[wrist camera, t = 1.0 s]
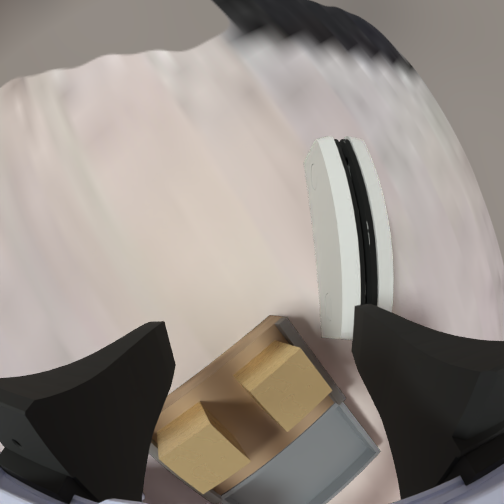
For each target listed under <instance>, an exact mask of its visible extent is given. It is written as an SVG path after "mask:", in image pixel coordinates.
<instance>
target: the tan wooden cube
mask: <svg viewBox="0 0 504 504" xmlns="http://www.w3.org/2000/svg"><path fill="white" fill-rule="evenodd" d="M233 377H234V378H235V379H236V380H237V381H238V383H239V384H240V385H241V386H242V387H243V388H244V389H245V391H246V392H247V393H248V394H249V395H250V396H251V397H252V398H253V400H254V401H255V402H256V403H257V404H258V405H259V406H260V407H261V408H262V409H263V410H264V412H265V413H267V414H268V415H269V416H270V417H271V418H272V419H273V420H274V421H275V422H276V423H278V424H279V425H280V426H281V427H282V428H283V429H284V430H286V431H287V432H288V431H289V430H291V429H292V428H293V427H294V426H295V425H296V424H297V423H299V422H300V421H301V420H302V419H303V418H304V417H305V416H306V415H307V414H308V413H310V412H311V411H312V410H313V409H314V408H315V407H316V406H317V405H318V404H319V403H320V402H321V401H322V400H323V399H324V398H325V397H326V396H327V395H328V394H329V393H330V392H331V391H332V389H331V388H330V387H329V385H328V384H327V383H326V381H325V380H324V379H323V377H322V376H321V375H320V373H319V372H318V371H317V369H316V368H315V367H314V365H313V364H312V363H311V361H310V360H309V359H308V357H307V356H306V355H305V353H304V352H303V351H302V349H301V348H299V347H296V346H292V345H289V344H286V343H282V342H279V341H276V340H275V341H274V342H272V343H271V344H270V345H269V346H268V347H267V348H265V349H264V350H263V351H262V352H261V353H259V354H258V355H257V356H256V357H255V358H254V359H252V360H251V361H250V362H249V363H247V364H246V365H245V366H244V367H243V368H241V369H240V370H239V371H238V372H236V373H235V374H234V375H233Z"/></svg>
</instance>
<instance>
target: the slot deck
mask: <svg viewBox="0 0 504 504" xmlns="http://www.w3.org/2000/svg"><path fill="white" fill-rule="evenodd" d="M275 340H276V341H279V342H282V343H286V344H289V345H292V346H296V347H299V348H301V349H302V351H303V352H304V353H305V355H306V356H307V357H308V359H309V360H310V361H311V363H312V364H313V365H314V367H315V368H316V369H317V371H318V372H319V373H320V375H321V376H322V377H323V379H324V380H325V381H326V383H327V384H328V385H329V387H330V388H331V389H332V391H331V392H330V393H329V394H328V395H327V396H326V397H325V398H324V399H323V400H322V401H321V402H320V403H319V404H318V405H317V406H316V407H315V408H314V409H313V410H312V411H311V412H310V413H308V414H307V415H306V416H305V417H304V418H303V419H302V420H301V421H300V422H299V423H297V424H296V425H295V426H294V427H293V428H292V429H291V430H289V431H288V432H287V431H286V430H284V429H283V428H282V427H281V426H280V425H279V424H278V423H276V422H275V421H274V420H273V419H272V418H271V417H270V416H269V415H268V414H267V413H265V412H264V410H263V409H262V408H261V407H260V406H259V405H258V404H257V403H256V402H255V401H254V400H253V398H252V397H251V396H250V395H249V394H248V393H247V392H246V391H245V389H244V388H243V387H242V386H241V385H240V384H239V383H238V381H237V380H236V379H235V378H234V377H233V375H234V374H235V373H236V372H238V371H239V370H240V369H241V368H243V367H244V366H245V365H246V364H247V363H249V362H250V361H251V360H252V359H254V358H255V357H256V356H257V355H258V354H259V353H261V352H262V351H263V350H264V349H265V348H267V347H268V346H269V345H270V344H271V343H272V342H274V341H275ZM345 399H346V397H345V396H344V394H343V393H342V392H341V390H340V389H339V388H338V386H337V385H336V384H335V382H334V381H333V380H332V378H331V377H330V376H329V374H328V373H327V371H326V370H325V369H324V367H323V366H322V365H321V363H320V362H319V361H318V359H317V358H316V356H315V355H314V354H313V352H312V351H311V350H310V348H309V347H308V346H307V344H306V343H305V341H304V340H303V339H302V337H301V336H300V335H299V333H298V332H297V330H296V329H295V328H294V326H293V325H292V324H291V322H290V321H289V319H288V318H287V317H280V316H271V315H269V316H268V317H267V318H266V319H265V320H264V321H262V322H261V323H260V324H259V325H258V326H256V327H255V328H254V329H253V330H252V331H250V332H249V333H248V334H247V335H245V336H244V337H243V338H242V339H241V340H239V341H238V342H237V343H236V344H234V345H233V346H232V347H231V348H229V349H228V350H227V351H226V352H224V353H223V354H222V355H221V356H219V357H218V358H217V359H215V360H214V361H213V362H212V363H210V364H209V365H208V366H206V367H205V368H204V369H203V370H201V371H200V372H199V373H197V374H196V375H195V376H193V377H192V378H191V379H189V380H188V381H187V382H185V383H184V384H183V385H181V386H180V387H179V388H177V389H176V390H175V391H173V392H172V393H171V394H169V395H168V396H167V398H166V400H165V403H164V406H163V408H162V411H161V413H160V416H159V419H158V421H157V424H156V426H155V429H154V433H153V436H152V440H151V444H150V449H149V454H150V455H151V456H152V457H153V458H154V459H156V460H157V461H158V462H159V463H160V464H161V465H162V466H164V467H165V468H166V469H167V470H168V471H170V472H171V473H172V474H173V475H175V476H176V477H177V478H178V479H180V480H181V481H182V482H183V483H185V484H186V485H187V486H189V487H190V488H191V489H193V490H194V491H195V492H197V493H198V494H199V495H201V496H202V497H204V498H205V499H207V500H208V501H209V502H211V503H212V504H218V503H220V502H221V501H223V500H222V498H221V495H222V494H223V493H225V492H226V491H228V490H229V489H231V488H232V487H234V486H235V485H237V484H238V483H240V482H241V481H243V480H244V479H245V478H247V477H248V476H250V475H251V474H252V473H254V472H255V471H256V470H258V469H259V468H260V467H262V466H263V465H264V464H266V463H267V462H268V461H269V460H271V459H272V458H273V457H274V456H276V455H277V454H278V453H279V452H281V451H282V450H283V449H284V448H285V447H287V446H288V445H289V444H290V443H291V442H293V441H294V440H295V439H296V438H297V437H298V436H299V435H301V434H302V433H303V432H304V431H305V430H306V429H307V428H308V427H310V426H311V425H312V424H313V423H314V422H315V421H316V420H317V419H318V418H319V417H320V416H321V415H322V414H323V413H324V412H325V411H326V410H327V409H328V408H329V407H331V406H332V405H333V404H334V403H336V404H338V405H340V404H341V403H342V402H343V401H344V400H345ZM199 401H200V402H201V403H202V404H203V405H204V406H205V407H206V409H207V410H208V411H209V412H210V413H211V414H212V415H213V416H214V417H215V418H216V419H217V420H218V421H219V422H220V423H221V424H222V425H223V426H224V427H225V428H226V429H227V430H228V431H229V432H230V433H231V434H232V435H233V436H234V437H235V438H236V440H237V441H238V443H239V444H240V446H241V447H242V449H243V450H244V452H245V453H246V455H247V456H248V457H249V459H250V460H251V462H250V463H248V464H247V465H246V466H244V467H243V468H242V469H240V470H239V471H237V472H236V473H235V474H233V475H232V476H230V477H229V478H227V479H226V480H224V481H223V482H221V483H220V484H218V485H217V486H215V487H214V488H212V489H211V490H209V491H208V492H206V493H204V494H202V493H201V492H199V491H198V490H197V489H195V488H194V487H192V486H191V485H190V484H189V483H187V482H186V481H185V480H183V479H182V478H181V477H180V476H178V475H177V474H176V473H175V472H173V471H172V470H171V469H170V468H169V467H167V466H166V465H165V464H164V463H163V462H162V461H161V460H159V457H158V442H157V431H159V430H160V429H162V428H163V427H165V426H166V425H167V424H169V423H170V422H172V421H173V420H175V419H176V418H177V417H179V416H180V415H182V414H183V413H184V412H186V411H187V410H188V409H190V408H191V407H192V406H194V405H195V404H197V403H198V402H199Z"/></svg>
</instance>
